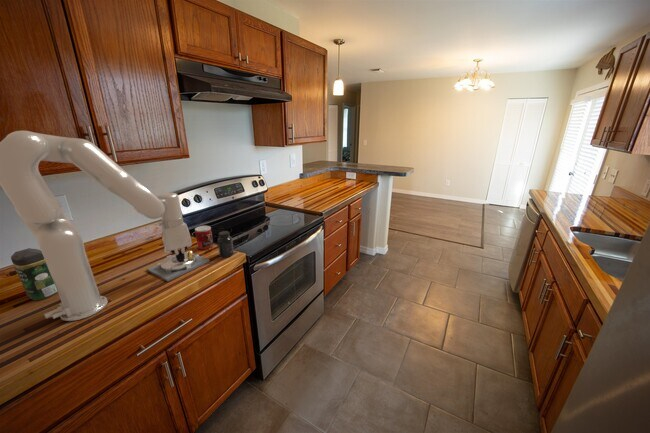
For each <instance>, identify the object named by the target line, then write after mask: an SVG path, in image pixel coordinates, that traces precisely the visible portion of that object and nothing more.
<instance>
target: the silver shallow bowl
mask: <svg viewBox="0 0 650 433" xmlns="http://www.w3.org/2000/svg"><path fill="white" fill-rule="evenodd" d="M197 255H198V254H196V256H194V255H193V250H191V249H190V250H186V251H185V253H184V256H185V259H184V262H182V263H180V262H179V261H177V259H176V254H172V255H171V254H170V255H167V256H166V257H165V258H164V259H162V260H161V261H160V262H157V264H158V268H159V269H161V268H162V270H163V271H166V273H171V272H174V271H180V270H183V269H189V268H191V266H192V265H193V264H194V263H195V261H198V257H197Z"/></svg>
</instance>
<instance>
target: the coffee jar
mask: <svg viewBox="0 0 650 433" xmlns="http://www.w3.org/2000/svg"><path fill="white" fill-rule="evenodd" d="M10 259H11V262H12V265H13V267H14V269H15V272H16V273H17V276H18V278H19V280H20V283H21V285H22V287H23V289H24V292H25V293H26V295H27V297H28V298H29V299H31V300H33V301H41V300H44V299H47V298H50V297H53V296H54V295H55V294H58V291H57V289H56V286H55V284H54V281H53V279H52V276H51V274H50V272H49V269H48V266H47V264H46V261H45V259H44V256H43V254H42V252H41V249H37V248H30V247H29V248H26V249H21V250H17V251H15V252H14V253H13V254H11V256H10Z"/></svg>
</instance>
